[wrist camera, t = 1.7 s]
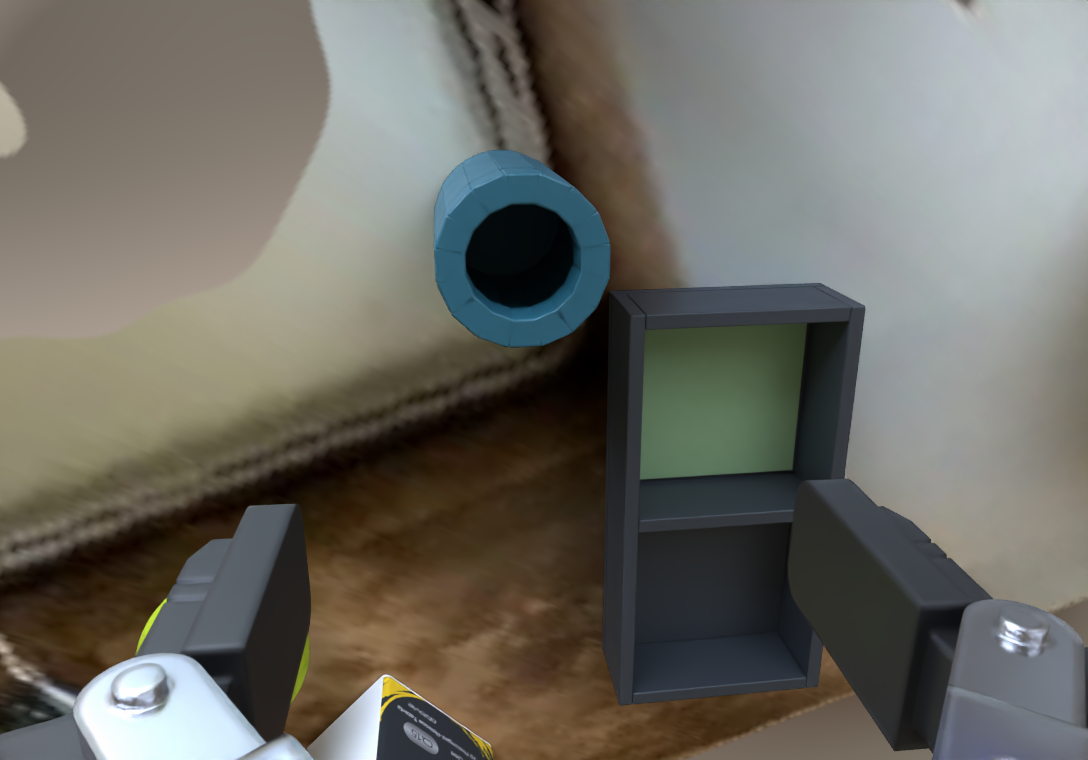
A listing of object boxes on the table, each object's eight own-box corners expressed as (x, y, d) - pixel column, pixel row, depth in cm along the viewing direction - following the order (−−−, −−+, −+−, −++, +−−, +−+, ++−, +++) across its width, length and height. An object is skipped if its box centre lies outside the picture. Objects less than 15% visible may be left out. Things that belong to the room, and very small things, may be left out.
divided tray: (602, 648, 40) (619, 706, 37) (608, 290, 34) (630, 315, 31) (783, 633, 41) (818, 687, 38) (820, 282, 36) (866, 305, 32)
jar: (438, 284, 33) (439, 351, 25) (431, 151, 32) (430, 174, 23) (565, 280, 34) (608, 344, 26) (566, 148, 32) (612, 171, 24)
